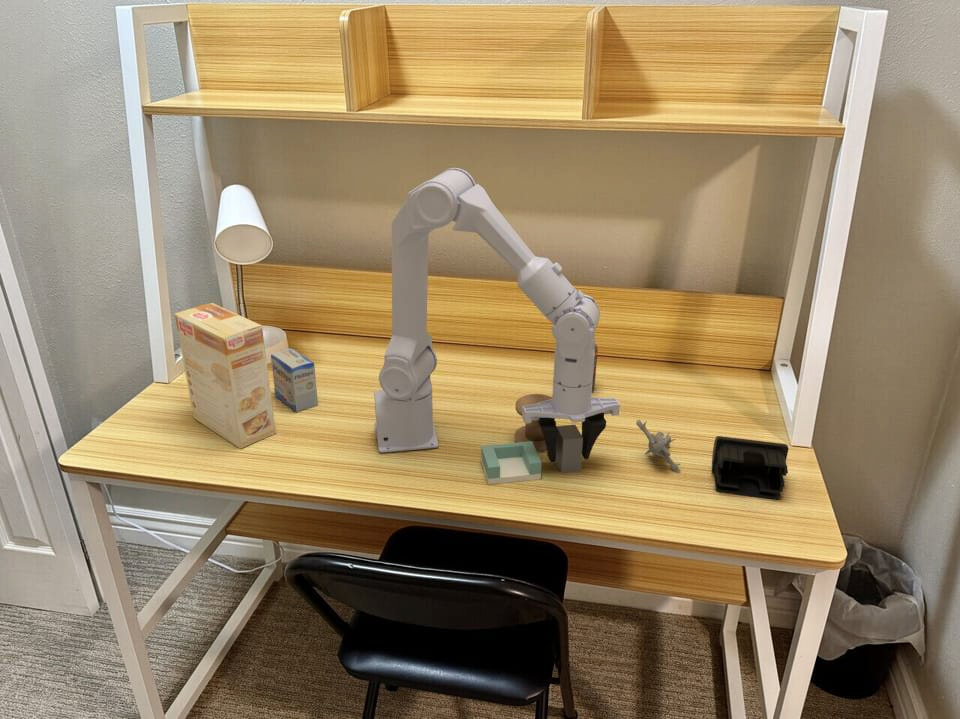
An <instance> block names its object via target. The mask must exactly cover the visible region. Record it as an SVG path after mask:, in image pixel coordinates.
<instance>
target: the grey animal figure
mask: <svg viewBox="0 0 960 719" xmlns="http://www.w3.org/2000/svg"><path fill="white" fill-rule="evenodd" d="M635 422H636V423H635V424H636V426H637V427H638V428H639V430H641V431H642V432H643V433H644V435H645V436H646V438H647V440H648V444H647V445H648V450H647V451H646V452H645V453H644V454H645V455H648V454H650V453H652V454H653V455H656V456H657V455H658V456H660V457H662V458H663V459H664V460H665V462H667V463H668V464H669V466H670V469H671V470H673V471H674V472H675V473H677V474H679V473H681V471H682V469H680V468H679V467H678V466H680V465H682V464H681V463H676V462H674V460H672V458H671V457H670V456H671V453H670V450H669V449H670V444H671V443H672V442H674V441H676V438H672V437H671V436H670V434H671V431H668V432H667V433H666V434H665V432H664V431H662V430H660V431H657V433H656V434H654V433H652V434H651V432H649V430H648V428H647V426H646V424H647V420H646V421H645V422H644V423H643V422H642V421H641V420H640V419H638V420H636V421H635Z"/></svg>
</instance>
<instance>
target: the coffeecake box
mask: <svg viewBox="0 0 960 719" xmlns="http://www.w3.org/2000/svg"><path fill="white" fill-rule="evenodd" d="M174 317H175V322H176V328H177V334H178V339H179V344H180V350H181V356H182V360H183V367H184V372H185V377H186V382H187V387H188V394H189V400H190V405H191V409H192V410H191V411H192V416H193V419H195V420H196V421H198V422H199V423H200V424H202V425H204V426H205V427H207V428H208V429H210V430H212V432H215V433H216V434H217V435H219V436H220V437H222V438H224V439H225V440H226V441H228V442H229V443H232V444H233V445H235V446H236V447H237V448H239V449H240V450H241V449H243V448H246V447H248V446H250V445H252V444H254V443H256V442H259V441H262V440H263V439H267V438H269V437H271V436H273V435H276V434H277V431H276V424H275V423H276V422H275V415H274V406H273V400H272V399H273V398H272V393H271V392H272V391H271V385H270V378H269V377H270V376H269V371H268V363H267V355H266V354H267V353H266V346H265V340H264V332H263V325H262V324H260V323H257V322H256V321H253V320H251V319H248V318H246V317H244V316H242V315H239V314H238V313H236V312H233V311H230V310H228V309H227V308H225V307H223V306H220V305H218V304H216V303H214V302H211V303H210V302H209V303H205V304H202V305H197V306H195V307H192V308H189V309H184V310H181V311H178V312H175V313H174Z"/></svg>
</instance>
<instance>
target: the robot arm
mask: <svg viewBox="0 0 960 719" xmlns="http://www.w3.org/2000/svg"><path fill="white" fill-rule="evenodd" d="M451 222H455V224H454V225H453V227H452V230H453V231H455V232H467V233H476V234H478V235H479V236H480V237H481V238H482V239H483V240H484V241H485V242H486V243H487V245H489V246H490V247H491V248H492V250H494V251H495V252H496V253H497V254H498V255H499V257H500V258H502V259H503V260H504V261H505V262H506V263H507V265H508V266H510V267H511V268H512V269H513V270H514V272H516V275H517V287H518V288H519V289H520V290H521V291H522V292H523V294H524V295H525V296H526V297H527V298H528V299H529V301H531V303H532V304H533V305H534V306H535V307H536V308H537V309H538V310H539V312H540V313H541V314H542V315H543V316H544V317H545V318H546V319H547V320H548V321H550V322H551V323H552V325H551V328H550V329H551V333H552V336H553V338H554V340H556V341H555V347H554V348H555V349H554V359H553V360H554V361H553V362H554V363H553V381H552V396H551V397H552V399H550V400H546V401H543V402H540V403H536V404H532V405H527V406H522V416H521V418H522V420H523V423H524V425H526V423H531V422H532V421H533V420H537V421H538V423H539V425H540V428H541V430H542V433H543V436H544V439H545V443H546V448H547V450H546V453H547V458H548V460H549V462H550V463H552V464H553V463H556V461H555V460H556V442H557V437H558V433H559V430H558V428H557V426H558V425H557V421H556V420H557V419H558V420H570V422H571V423H581V435H582V437H583V445H582V458H583V460H589V458H590V455H591V453H592V449H593V447H594V445H595V443H596V441H597V440H598V438H599V437H600V435H601V433H602V432H603V431H604V430H605V429H606V428H607V420H606V419H605V415H611V416H612V417H613V416H615V417H617V416H620V408H621V407H620V406H621V404H620V402H619V401H618V400H617V398H614V397H613V398H611V397H610V398H609V397H608V398H607V397H605V398H603V397H593V396H592V395H593V394H592V392H593V391H592V382H593V370H594V358H595V350H594V347H595V344H596V340H595V338H596V337H595V336H596V333H595V332H596V329H597V327H598V324H599V322H600V318H601V317H600V316H601V311H600V308H599V305H598V304H597V303H596V301H595V299H594V298H593V297H592V296H590V295H588V294H585V293H584V292H582V290H581V289H579V290H577V289H576V287H575V286H573V285H572V283H571V282H570V281H569V280H568V278H566V276H565V275H564V274H563V273H562V270H563V267H562V266H561V264H560V263H558V262H555V263H553V261H552V260H550V259H549V258H547V257H541V256H536V255H535V254H534V253H533V252H532V251H531V250H530V248H529V247H528V246H527V244H526V243H525V242H524V241H523V239H522V238H521V237H520V235H519V234H518V233H517V232H516V231H515V229H514V228H513V227H512V225H511V224H510V223H509V222H508V220H507V219H506V218H505V217H504V215H503V214H502V213H501V212H500V211H499V210H498V208H497V207H496V206H495V204H494V203H493V201H492V200H491V198H490V196H489V195H488V193H487V192H486V189H485V188H484V187H483V186H481V185H480V184H479V183H476V181H475V179H474V178H473V177H472V175H471V174H470V173H469V172H467V171H466V170H464V169H462V168H458V167H452V168H451V167H450V168H447V169H445V170H443V171H442V172H440V173H438V174H437V175H435V176H434V177H432V178H431V179H429V180H426V181H425V182H423V183H421V184H419V185H418V186H417V187H414V188H413V189H412V190H410V191H409V192H408V193H407V196H406V199H405V201H404V202H403V204H402V205H401V207H400V209H398V212H397V213H396V215H395V216H394V218H393V220H392V224H391V311H392V312H391V337H390V340H389V342H388V345H387V348H386V349H385V353H384V356H383V357H384V363H383V366H382V368H381V369H380V371H379V374H378V381H379V385H380V387H381V389H380V390H375V391H374V393H373V396H374V410H375V422H374V423H373V424H374V435H376V437H377V438H376V439H377V446H378V453H381V454H382V453H394V452H404V451H405V452H406V451H415V450H416V451H417V450H427V449H436V448H438V447H439V442H438V438H437V432H436V429H435V424H434V412H433V411H434V410H433V384H432V380H431V374H432V373H434V371H435V370H436V368H437V364H438V358H437V354H436V352H435V350H434V347H433V343H432V342H433V337H432V335H431V334H430V333H429V332H428V331H427V330H428V328H427V326H428V282H429V281H428V280H429V278H428V276H429V275H428V274H429V272H428V271H429V269H428V268H429V235H430V233H432V232H433V231H434V230H436V229H440V228H442V227H445V226H447V225H449V224H451ZM555 419H556V420H555Z"/></svg>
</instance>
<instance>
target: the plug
mask: <svg viewBox="0 0 960 719" xmlns="http://www.w3.org/2000/svg"><path fill="white" fill-rule="evenodd" d="M556 426H557V428H558V430H559V433H558V437H557V442H556V460H555V463H556V465H557V468H558V469H559V471H560V473H561V474H570V473H578V472H579V473H580V472H581V469H582V458H583V456H582V445H583V437H582V433H581V432H580V431H579V429H578V427H577V425H576V424H567V425H566V424H565V425H556Z"/></svg>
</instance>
